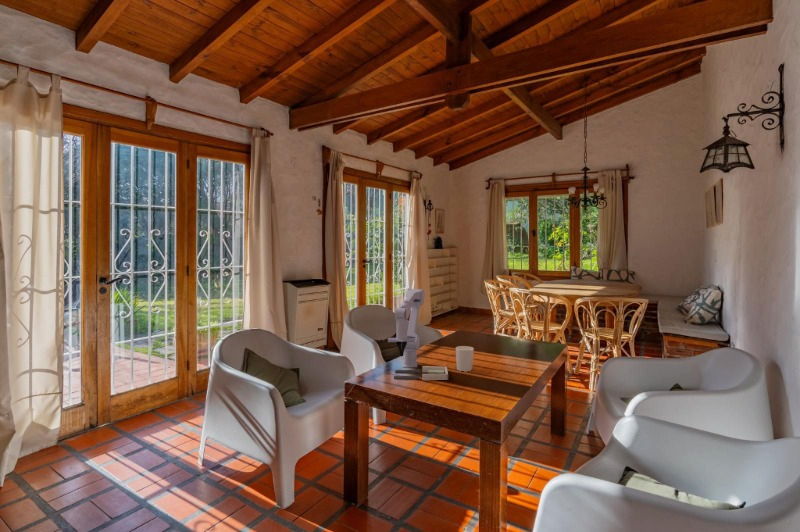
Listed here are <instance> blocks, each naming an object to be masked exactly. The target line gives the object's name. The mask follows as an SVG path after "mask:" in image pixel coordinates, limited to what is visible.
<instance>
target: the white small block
mask: <svg viewBox="0 0 800 532" xmlns="http://www.w3.org/2000/svg"><path fill="white" fill-rule="evenodd" d="M427 374H436V370H428V372H427Z"/></svg>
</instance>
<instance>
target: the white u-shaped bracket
mask: <svg viewBox="0 0 800 532" xmlns="http://www.w3.org/2000/svg"><path fill="white" fill-rule="evenodd" d="M421 367H422V368H421V369H422V372H421V373H422V375H421V376H422V381H430V380H448V381H449V373H448V367H447V366H434V365H433V366H429V365H428V366H423V365H422V366H421ZM428 370H444V372H445V373H444V374H428Z"/></svg>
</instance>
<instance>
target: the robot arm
mask: <svg viewBox="0 0 800 532" xmlns="http://www.w3.org/2000/svg"><path fill="white" fill-rule="evenodd" d="M405 297H406V298H405V300H402V302H401V304H400V306H399V307H397V308H396V309H395V310H394V317H395V324H396V325H395V326H396V330H395V331H396V337H388V338H387V343H396V346H397V349H398V350H399V354H400V355H399V356H400V357H403V361H402V362H403V363H402V368H418V361H417V351H418V350H419V349H420V346H421V345H420V344H421V342H420V341H421V339H420V336H419V335H418V334H417V329H418V327H417V326H418V320H419V315H420V309H421V306H422V305H424V301H425V290H424V289H423V288H410V287H409V288H406V292H405Z"/></svg>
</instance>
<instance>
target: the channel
mask: <svg viewBox="0 0 800 532" xmlns="http://www.w3.org/2000/svg"><path fill="white" fill-rule="evenodd" d="M420 372H421V371H420V369H395V370H394V373H395V374H420ZM393 379H394V380H412V379H419V380H420V376H419V375H393Z"/></svg>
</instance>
